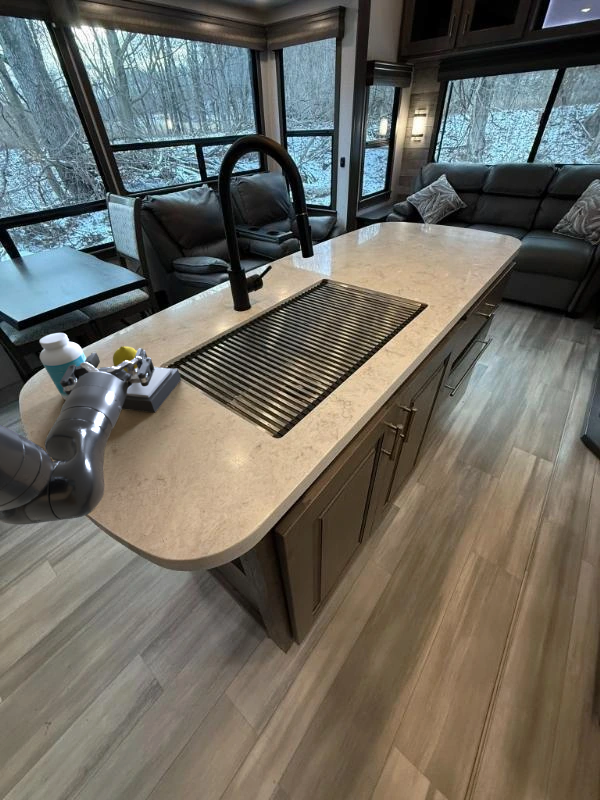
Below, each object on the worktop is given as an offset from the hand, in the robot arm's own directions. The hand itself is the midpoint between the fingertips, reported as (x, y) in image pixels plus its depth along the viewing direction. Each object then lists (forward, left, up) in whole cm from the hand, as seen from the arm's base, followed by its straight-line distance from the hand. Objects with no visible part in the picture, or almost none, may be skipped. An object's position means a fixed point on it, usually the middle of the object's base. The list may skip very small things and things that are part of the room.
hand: (119, 354), depth 65 cm
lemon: (-1, +2, -8) cm, 8 cm away
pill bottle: (-14, 0, -11) cm, 18 cm away
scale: (-1, +2, -11) cm, 11 cm away
